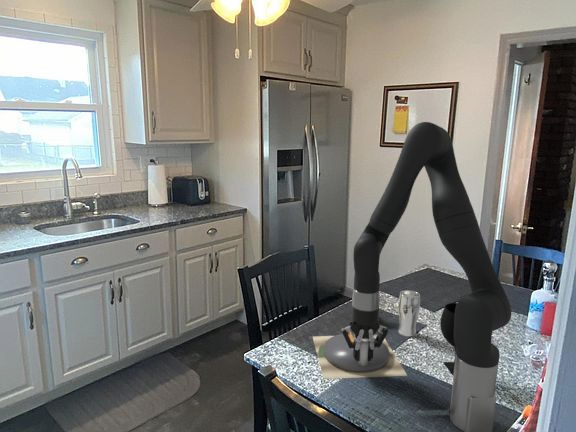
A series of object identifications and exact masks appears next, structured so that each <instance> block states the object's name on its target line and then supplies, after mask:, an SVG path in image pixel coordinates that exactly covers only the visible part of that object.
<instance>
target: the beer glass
mask: <svg viewBox="0 0 576 432" xmlns="http://www.w3.org/2000/svg"><path fill="white" fill-rule="evenodd" d="M397 307H398V308H397V309H398V318H399V319H398V320H399V327H398V330H397V331H398V334H400V335H402V336H404V337H415V336H416V335H417V331H416V326H417V321H418V318H419V315H420V314H419V313H420V310H421V309H420V308H421V295H420V293H419V292H417V291H415V290H409V289H408V290H407V289H406V290H401V291H400V292H399V298H398V306H397Z"/></svg>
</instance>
